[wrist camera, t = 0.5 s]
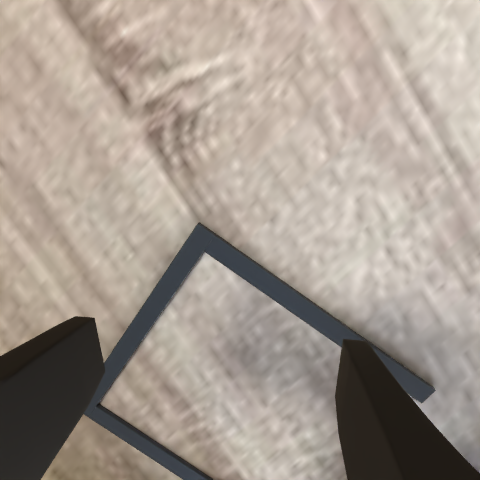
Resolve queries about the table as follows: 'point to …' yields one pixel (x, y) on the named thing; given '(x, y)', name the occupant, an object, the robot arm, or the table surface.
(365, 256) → the table surface
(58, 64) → the table surface
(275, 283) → the frame
